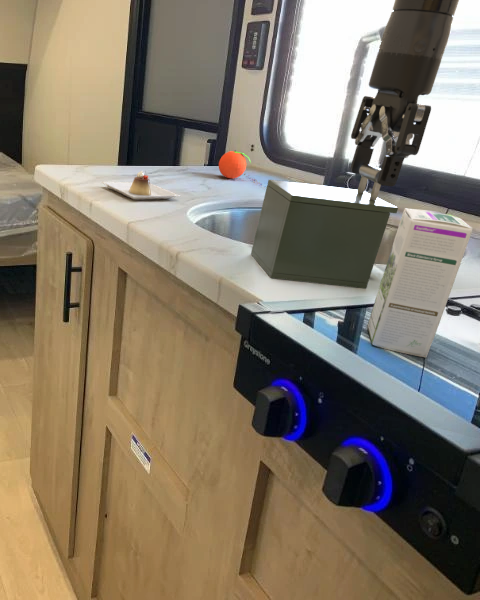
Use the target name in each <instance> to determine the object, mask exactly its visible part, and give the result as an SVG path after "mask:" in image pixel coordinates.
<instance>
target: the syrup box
mask: <svg viewBox="0 0 480 600" xmlns="http://www.w3.org/2000/svg"><path fill="white" fill-rule="evenodd" d="M472 233H473V227H472V226H470V225H469V224H468V223H467V222H466V221H465V220H464V219H462V218H461V217H459V216H456V215H453V214H450V213H446V212H440V211H435V210H428V209H418V208H407V207H404V209H403V212H402V215H401V218H400V221H399V224H398V227H397V230H396V233H395V235H394V239H393V243H392V246H391V249H390V251H389V252H390V253H389V255H388V259H387V261H386V265H385V268H384V272H383V275H382V278H381V280H380V283H379V284H380V285H379V287H378V290H377V294H376V297H375V299H374V303H373V306H372V309H371V312H370V316H369V319H368V322H367V325H366V328H367V331H368V333H369V334H368V335H369V338H370V342H371V344H372V345H373V346H375V347H378V348H382V349H385V350H388V351H392V352H397V353H401V354H406V355H410V356H416V357H420V358H427V357H428V355H429V352H430V349H431V346H432V344H433V341H434V339H435V336H436V334H437V331H438V328H439V326H440V323H441V320H442V317H443V314H444V311H445V309H446V306H447V303H448V300H449V297H450V294H451V292H452V289H453V286H454V284H455V280H456V278H457V276H458V272H459V270H460V267H461V263H462V261H463V258H464V255H465V252H466V250H467V247H468V244H469V241H470V238H471V236H472Z"/></svg>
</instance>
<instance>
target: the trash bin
mask: <svg viewBox="0 0 480 600" xmlns="http://www.w3.org/2000/svg"><path fill="white" fill-rule="evenodd" d="M264 192H265V193H264V197H263V201H262V206H261V210H260V214H259V218H258V221H257V222H258V223H257V226H256V231H255V235H254V239H253V244H252V247H251V251H250V255H251V256H252V257H253V258H254V260H255V261H256V262H257V263H258V265H259V266H260V267H261V268H262V269H263V270H264V272H265V273H266V274H267V275H268V276H269V277H270V279H277V280H286V281H294V282H305V283H313V284H323V285H329V286H330V285H331V286H340V287H349V288H358V289H367V287H368V284H369V281H370V277H371V276H372V275H371V274H372V271H373V268H374V265H375V263H376V259H377V256H378V253H379V250H380V247H381V244H382V241H383V237H384V234H385V231H386V229H387V226H388V222H389V219H390V216H391V213H388V212H379V211H371V210H362V209H354V208H345V207H336V206H328V205H319V204H311V203H302V202H294V201H290V200H288V199H287V198H286V197H284V196H283V195H281V194H280V193H279V192H277V191H276V190H274V189H273V188H272V187H270V186H269V185H268V184H267V185H266V189H265V191H264Z"/></svg>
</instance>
